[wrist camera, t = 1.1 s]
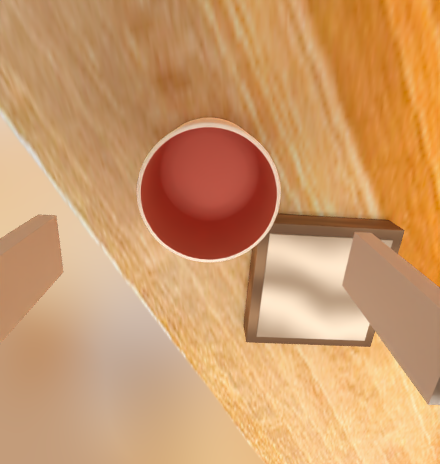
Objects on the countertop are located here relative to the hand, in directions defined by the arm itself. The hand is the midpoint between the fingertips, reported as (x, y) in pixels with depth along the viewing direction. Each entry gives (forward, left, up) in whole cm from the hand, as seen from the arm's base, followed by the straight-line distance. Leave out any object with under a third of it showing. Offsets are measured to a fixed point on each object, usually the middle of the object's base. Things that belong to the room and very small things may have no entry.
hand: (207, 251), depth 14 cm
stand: (+11, +12, -18) cm, 25 cm away
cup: (0, 0, -19) cm, 19 cm away
